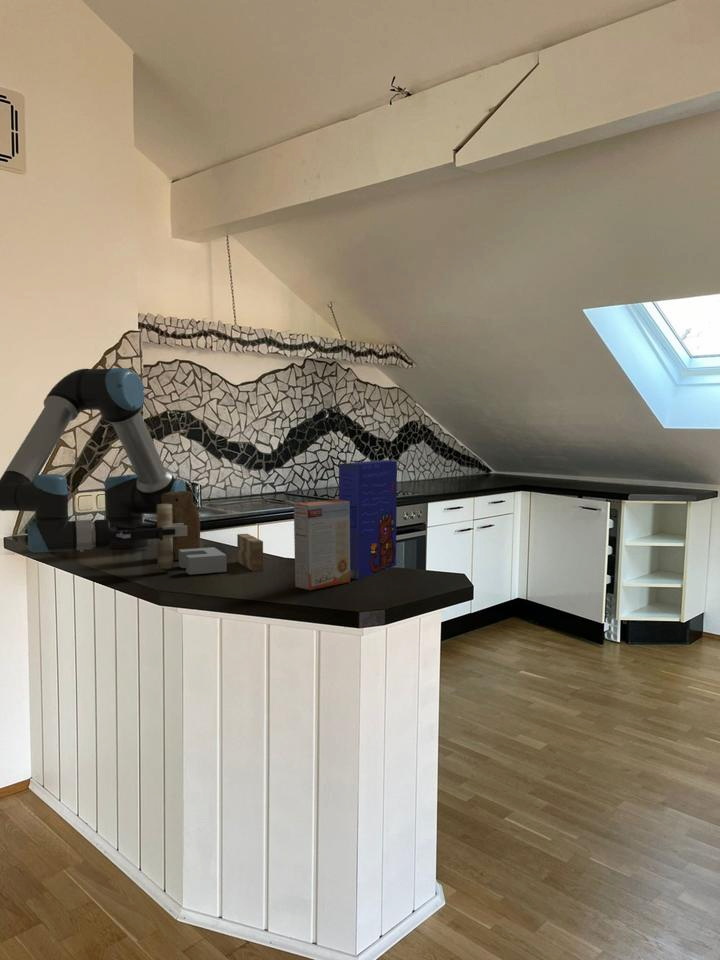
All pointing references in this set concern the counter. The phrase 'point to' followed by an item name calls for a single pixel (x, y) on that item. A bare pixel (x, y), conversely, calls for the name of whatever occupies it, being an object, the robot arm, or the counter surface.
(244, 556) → the wall
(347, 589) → the counter surface
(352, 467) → the cereal box
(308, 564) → the cracker box
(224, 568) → the block
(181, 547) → the block
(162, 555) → the dowel
